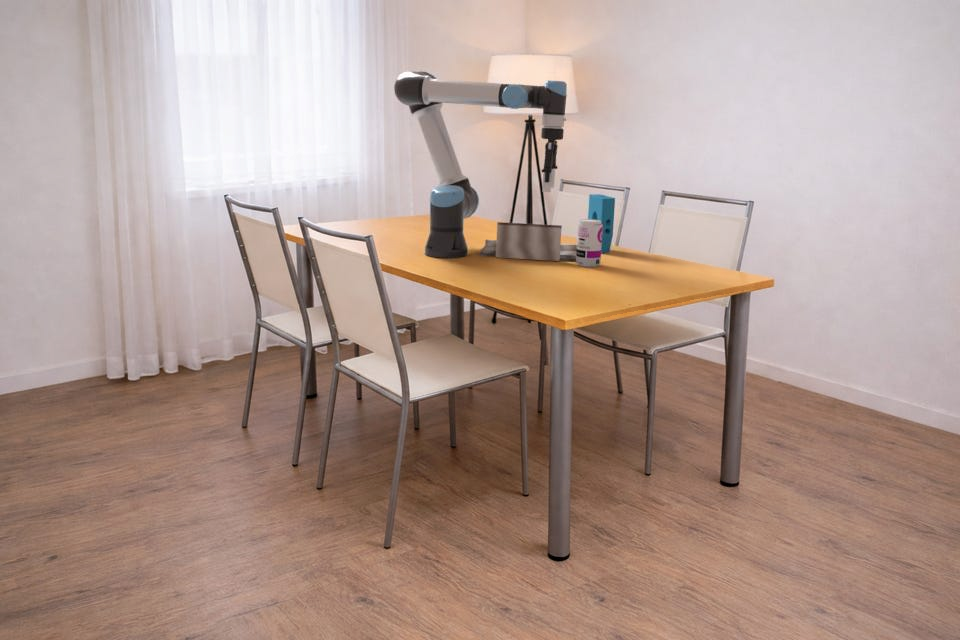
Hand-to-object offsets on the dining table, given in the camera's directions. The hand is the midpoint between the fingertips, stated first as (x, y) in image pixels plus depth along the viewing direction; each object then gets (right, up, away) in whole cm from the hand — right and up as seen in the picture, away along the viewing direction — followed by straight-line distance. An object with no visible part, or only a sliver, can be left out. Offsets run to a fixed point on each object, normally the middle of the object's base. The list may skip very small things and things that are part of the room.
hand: (548, 189), depth 301 cm
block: (+20, -20, +17) cm, 33 cm away
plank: (-7, -18, -5) cm, 21 cm away
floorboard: (-5, -23, +3) cm, 24 cm away
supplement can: (+13, -27, -10) cm, 31 cm away
